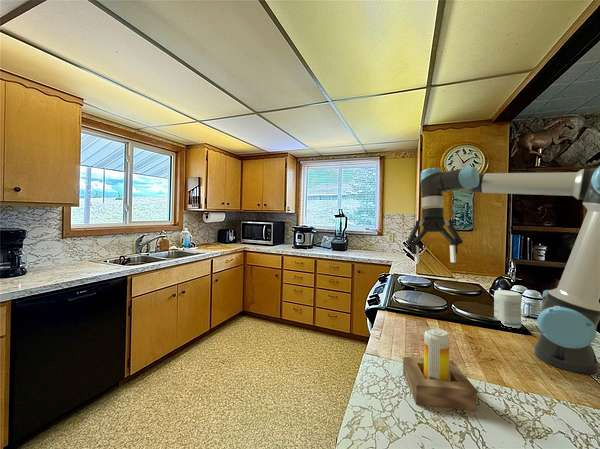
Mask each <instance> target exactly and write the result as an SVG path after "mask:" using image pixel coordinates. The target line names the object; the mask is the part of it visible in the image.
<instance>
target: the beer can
mask: <svg viewBox="0 0 600 449" xmlns="http://www.w3.org/2000/svg"><path fill="white" fill-rule="evenodd" d="M423 337H424V338H423V358H424V377H425V379H431V380H443V381H449V360H450V336H449V334H448V332H447V331H446V330H444V329H442V328H441V329H440V328H436V327H427V328H426V329H425V331H424V335H423Z"/></svg>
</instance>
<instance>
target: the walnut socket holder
mask: <svg viewBox="0 0 600 449" xmlns="http://www.w3.org/2000/svg"><path fill="white" fill-rule="evenodd" d="M402 358H403V362H402V364H403V365H402V367H403V368H402V373H403V376H404V379H405V381H406V383H407V386H408V388H409V390H410V394H411V396H412V398H413V400H414V403H415V405H419V406H425V407H426V406H429V407H438V408H448V409H456V410H467V411H474V412H475V411H476V412H477V411H478V410H477V408H478V407H477V402H478V401H477V398H478V391H477V390H478V389H477V388H476V387H475V386H474V385H473V383H471V381H470V380H469V378H468V377H467V376H466V375H465V374H464V372H463V371H462V370H461V369H460V368H459V367H458V365H457V364H456V362H454V360H450V359H449V381H443V380H431V379H425V377H424V357H423V358H422V357H413V356H412V357H410V356H403V357H402Z"/></svg>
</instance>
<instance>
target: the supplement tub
mask: <svg viewBox="0 0 600 449" xmlns="http://www.w3.org/2000/svg"><path fill="white" fill-rule="evenodd" d="M521 295H522V294H521V293H519V292H517V291H513V290H504V289H496V290H494V293H493V300H494V301H493V311H494V312H493V317H495V318H497V319H498V320H500V321H501V323H502V324H503V325H504V326H507V327H512V328H517V329H520V328H521V327H522V297H521Z"/></svg>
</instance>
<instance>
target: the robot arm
mask: <svg viewBox="0 0 600 449" xmlns="http://www.w3.org/2000/svg"><path fill="white" fill-rule="evenodd" d="M419 182H420V192H421V195H420V196H421V198H420V199H421V208H422V210H421V217H422V220H421V221H419V220H414V221H413V222H414V223H413V228H412V229H411V232H410V234H409V236H408V238H407V241H406V244H407V245H409V246H411V253H412V255H414V263H416V264H419V263H420V250H419V249H420V248H419V245H418V244H419V242H420V241H421V240H422V238H423V237H425V235H426V234H427V233H428V232H429V233H432V232H434V233H441V235H442V236H443V237H444V238H445V239H446V240H447V241H448V242H449V243H450V244H451V245H449V257H450V258H449V259H450V261H449V262H450V263H457V255H456V254H458V252H459V250H458V246H459V245H460V244H463V240H462V238H461V236H460V234H459V232H458V231H457V229H456V228H455V226H454V222H453V220H452V219H448V220H444V219H445V218H444V208H443V207H444V198H443V193H444V192H451V191H452V192H453V191H461V192H463V193H466V194H474V193H478V194H479V193H480V194H481V193H482V194H512V195H537V196H539V195H543V196H568V197H569V196H570V197H571V196H572V197H574V198H575V199H576V200H583V201H582V205H583V207H585V208H586V215H585V217H584V219H583V220H582V221H583V222H582V224H581V227H580V229H579V232H578V235H577V237H576V240H575V242H574V244H573V247H572V249H571V253H570V254H569V257H568V260H567V262H566V265H565V267H564V270H563V272H562V274H561V278H560V280H559V282H558V284H557V287H556V288H553V289H545V290H543V291H542V295H541V299H542V303H541V309H540V312H539V314H538V316H537V318H536V321H537V326H538V328H539V330H540V332H541V333H540V335H539V338H538V340H537V342H536V344H535V345H534V356H535V357H536V358H537V359H538V360H540V361H543V362H544V363H547V364H549V365H551V366H553V367H556V368H559V369H562V370H565V371H569V372H573V373H578V374H579V373H580V374H588V375H589V374H590V375H591V374H596V373H598V372H599V369H600V368H599V361H598V358H597V355H596V353H595V351H594V348H593V346H592V343H593V342H594V340H595V339H596V337H597V328H598V327H597V326H598V324H599V322H600V165H598V167H596V168H582V169H580V170H579V171H574V172H568V171H567V172H494V173H493V172H492V173H489V172H488V173H486V172H485V173H482V172H481V173H479V170H478V168H477V167H475V166H471V167H462V168H458V169H453V170H448V171H442V169H441V168H439V167H433V168H432V167H430V168H425V169H423V170H421V172H420V180H419ZM421 225H422V227H423V228H422V229H421V231H420V232H419V233H418V230H419V228H420V227H421ZM444 226H446V227H447V229H448V230H447V229H446V228H445V227H444ZM448 231H449V232H448ZM417 233H418V235H417ZM416 235H417V236H416ZM415 236H416V237H415Z"/></svg>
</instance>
